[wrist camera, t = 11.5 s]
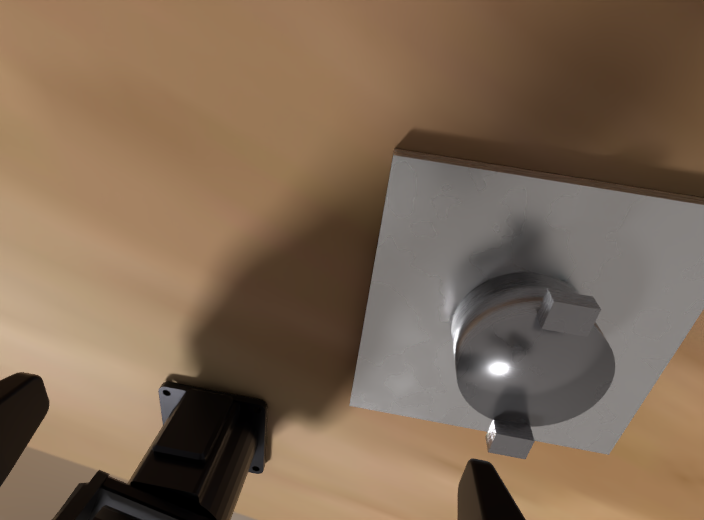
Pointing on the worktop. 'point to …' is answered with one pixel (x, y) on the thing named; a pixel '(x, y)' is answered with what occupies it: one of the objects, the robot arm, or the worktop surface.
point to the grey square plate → (525, 301)
